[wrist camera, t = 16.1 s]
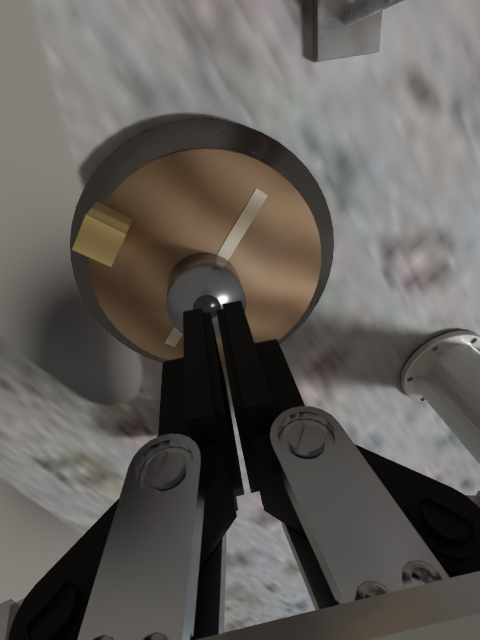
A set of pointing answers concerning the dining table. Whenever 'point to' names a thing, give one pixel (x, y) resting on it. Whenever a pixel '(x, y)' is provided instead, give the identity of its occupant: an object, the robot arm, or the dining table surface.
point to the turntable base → (186, 137)
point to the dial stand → (347, 27)
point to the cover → (202, 287)
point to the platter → (201, 243)
